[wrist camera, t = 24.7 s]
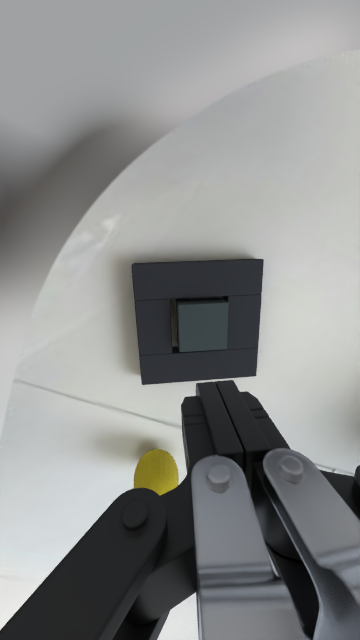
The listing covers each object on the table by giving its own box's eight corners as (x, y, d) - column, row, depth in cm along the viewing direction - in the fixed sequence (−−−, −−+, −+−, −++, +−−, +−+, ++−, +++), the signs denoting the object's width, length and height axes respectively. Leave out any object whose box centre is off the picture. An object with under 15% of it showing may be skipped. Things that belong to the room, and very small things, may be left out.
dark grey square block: (175, 299, 28) (178, 304, 25) (221, 297, 28) (228, 302, 25) (177, 342, 29) (179, 352, 26) (220, 339, 30) (227, 349, 27)
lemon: (183, 448, 34) (191, 506, 26) (158, 473, 35) (158, 536, 27) (154, 428, 32) (153, 483, 25) (128, 454, 33) (119, 515, 26)
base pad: (133, 263, 26) (131, 264, 24) (256, 258, 27) (263, 259, 25) (142, 376, 30) (141, 385, 28) (250, 368, 31) (256, 376, 29)
